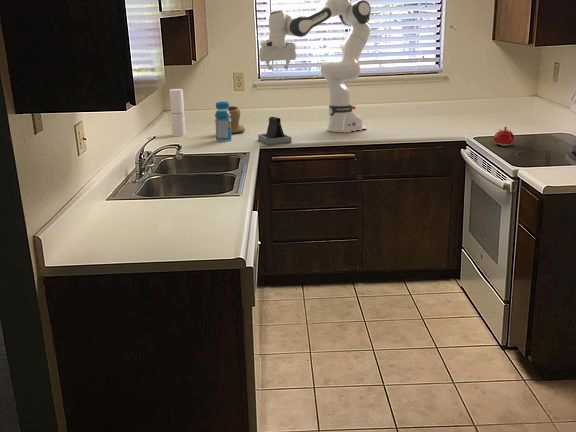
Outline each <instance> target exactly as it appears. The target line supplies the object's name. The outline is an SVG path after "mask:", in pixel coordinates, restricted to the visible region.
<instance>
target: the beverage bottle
mask: <svg viewBox="0 0 576 432" xmlns="http://www.w3.org/2000/svg"><path fill="white" fill-rule="evenodd" d="M229 106H230V103H229V102H228V101H217V102H216V103H215V108H216V111H215V114H214V117H215V118H214V119H215V120H214V122H215V137H216V138H215V139H216V141H217V142H224V143H225V142H229V141H230V142H231V141H232V139H233V137H232V133H231V118H230V116H231V114H230V112H229V111H228V109H229Z"/></svg>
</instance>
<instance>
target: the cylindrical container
mask: <svg viewBox="0 0 576 432" xmlns="http://www.w3.org/2000/svg"><path fill="white" fill-rule="evenodd" d="M183 90H184V89H182V88H170V89H169V102H170V103H169V104H170V117H171V118H170V119H171V128H172V129H171V130H172V137H184V136H186V135H187V134H186V133H187V132H186V119H185V105H184V103H185V101H184V91H183Z"/></svg>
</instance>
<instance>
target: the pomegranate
mask: <svg viewBox="0 0 576 432" xmlns="http://www.w3.org/2000/svg"><path fill="white" fill-rule="evenodd" d="M496 131H498V132H496V133H495V134H494V135H493V138H492V139H493V143H494V142H496V143H501V144H511V143H513V144H514V141H515V136H514V133H513V132H512V131H511V130H509V129H508V126H504V129H502V130H501V129H498V130H496Z"/></svg>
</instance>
